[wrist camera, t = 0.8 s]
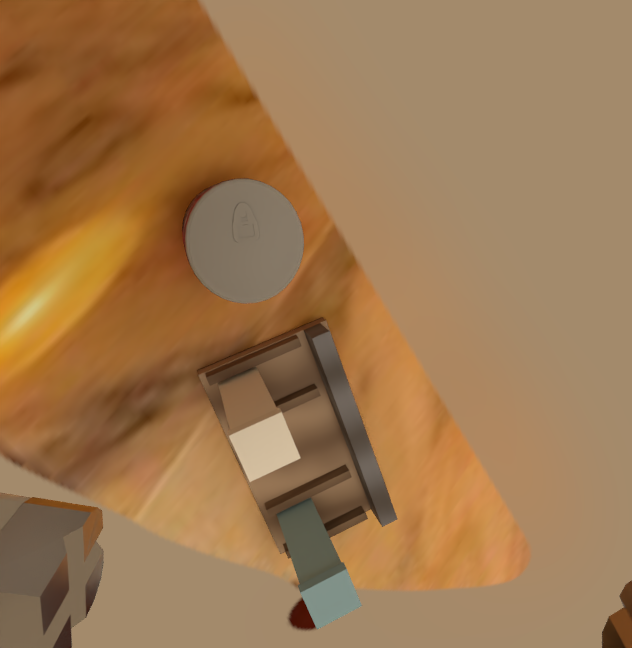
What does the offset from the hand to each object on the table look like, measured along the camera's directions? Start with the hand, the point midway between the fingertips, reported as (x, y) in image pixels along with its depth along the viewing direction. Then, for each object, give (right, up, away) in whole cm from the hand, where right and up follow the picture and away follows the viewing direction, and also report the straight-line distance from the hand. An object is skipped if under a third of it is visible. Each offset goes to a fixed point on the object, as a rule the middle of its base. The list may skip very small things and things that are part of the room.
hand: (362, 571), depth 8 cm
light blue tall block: (-2, -15, +42) cm, 44 cm away
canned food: (-8, +11, +36) cm, 38 cm away
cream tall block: (-7, -2, +37) cm, 38 cm away
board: (-2, -7, +41) cm, 42 cm away
